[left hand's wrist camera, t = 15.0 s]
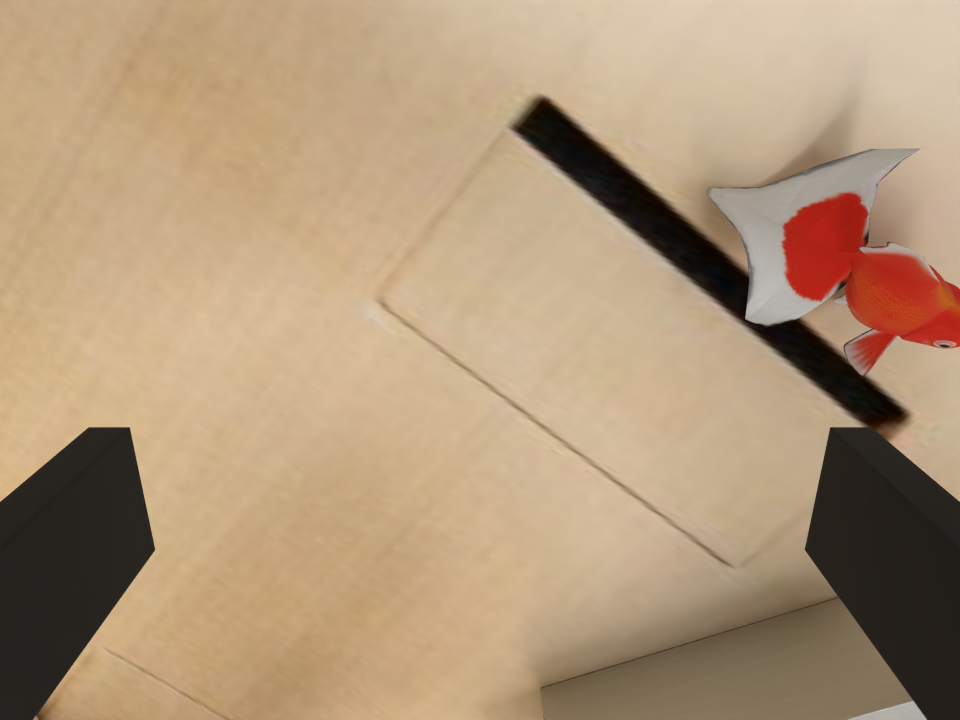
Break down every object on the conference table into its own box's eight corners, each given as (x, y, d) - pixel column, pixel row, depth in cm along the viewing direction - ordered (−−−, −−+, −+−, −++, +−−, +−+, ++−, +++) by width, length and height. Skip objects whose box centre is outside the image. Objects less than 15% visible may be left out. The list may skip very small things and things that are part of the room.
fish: (832, 447, 40) (934, 434, 30) (643, 262, 43) (680, 193, 33) (957, 327, 41) (1096, 275, 31) (764, 153, 44) (836, 55, 34)
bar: (851, 593, 50) (928, 696, 41) (864, 643, 51) (940, 752, 43) (540, 687, 53) (551, 801, 44) (561, 731, 55) (577, 849, 46)
